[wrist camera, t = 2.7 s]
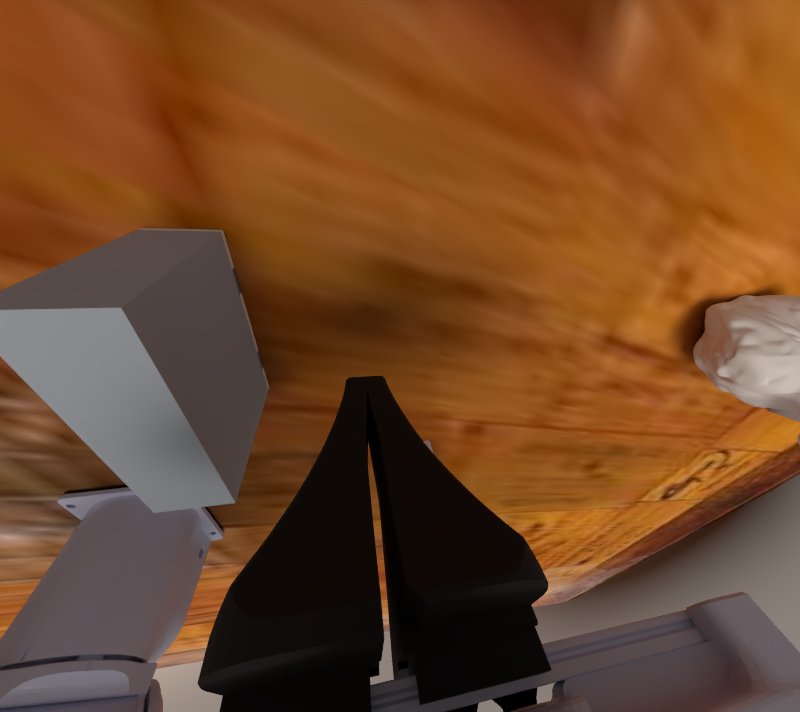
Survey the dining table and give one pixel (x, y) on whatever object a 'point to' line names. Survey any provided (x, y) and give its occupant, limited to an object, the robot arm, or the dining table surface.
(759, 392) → the bust
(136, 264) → the gray rectangular block
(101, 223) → the dining table surface
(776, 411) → the flask
